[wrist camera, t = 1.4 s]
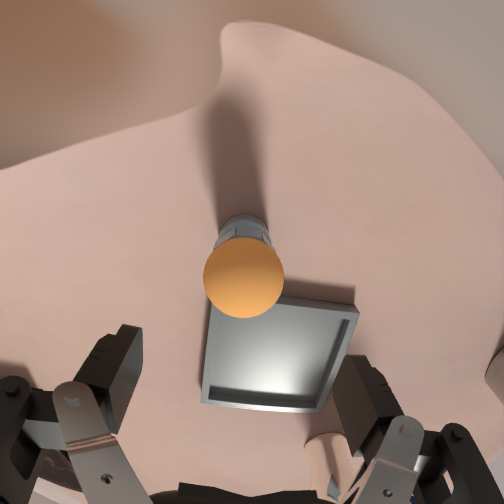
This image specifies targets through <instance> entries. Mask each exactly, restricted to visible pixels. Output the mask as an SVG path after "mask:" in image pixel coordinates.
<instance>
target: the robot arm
mask: <svg viewBox="0 0 504 504" xmlns="http://www.w3.org/2000/svg"><path fill="white" fill-rule="evenodd" d="M142 365H143V333H142V328H140V327H135V326H130V325H126V324H122V326H121V327H120V329H119V330H118V332H117V334H116V335H112V334H107V335H106V336H104V337H102V338H101V339H99V340H98V342H97V343H96V345H95V346H94V348H93V350H92V351H91V352H90V354H89V357H87V359H86V360H85V362H84V363H83V365H82V366H81V368H80V370H79V371H78V373H77V374H76V376H75V378H74V379H73V381H69V382H64V383H62V384H60V385H58V386H57V387H56V388H55V390H54V391H40V390H31V388H30V385H29V383H28V382H27V381H26V380H25V379H24V378H22V377H19V376H8V377H5V378H3V379H1V380H0V504H28V502H29V500H30V497H31V494H32V491H33V488H34V486H35V483H36V480H37V478H38V475H39V472H40V470H41V467H42V465H43V462H44V460H45V457H46V455H47V452H48V450H49V449H55V450H67V452H68V455H69V458H70V461H71V463H72V466H73V469H74V471H75V474H76V476H77V479H78V481H79V484H80V486H81V488H82V491H83V493H84V495H85V497H86V500H87V502H88V504H336V503H333V502H331V501H328V500H324V499H319V498H318V496H317V491H316V490H302V491H281V492H276V493H271V494H266V495H261V496H255V497H247V496H243V495H239V494H236V493H232V492H229V491H225V490H222V489H219V488H216V487H210V486H201V485H194V484H188V483H181V482H179V488H178V490H172V491H164V492H160V493H155V494H153V495H150V496H148V494H147V493H146V491H145V489H144V488H143V486H142V485H141V483H140V481H139V479H138V478H137V476H136V474H135V473H134V471H133V469H132V467H131V466H130V464H129V462H128V460H127V458H126V456H125V455H124V453H123V451H122V449H121V447H120V445H119V443H118V441H117V439H116V438H115V437H114V436H113V437H112V435H111V433H113V434H118V431H119V429H120V426H121V423H122V420H123V418H124V415H125V412H126V410H127V407H128V405H129V402H130V399H131V397H132V394H133V392H134V389H135V387H136V384H137V382H138V379H139V377H140V374H141V371H142ZM485 380H486V383H487V385H488V386H489V387H490V388H491V390H492V391H493V392H494V393H495V395H496V396H497V397H498V398H499V400H500V401H501V402H502V403H503V405H504V347H503V348H502V349H501V350H500V352H499V353H498V354H497V355H496V356H495V358H494V359H493V361H492V362H491V364H490V366H489V368H488V370H487V373H486V378H485ZM333 397H334V401H335V404H336V407H337V410H338V413H339V416H340V419H341V422H342V426H343V429H344V432H345V435H346V438H347V442H348V445H349V448H350V451H351V455H352V457H361V456H363V457H364V462H363V463H362V465H361V466H360V468H359V470H358V472H357V474H356V475H355V477H354V479H353V481H352V482H351V484H350V486H349V488H348V489H347V491H346V493H345V494H344V496H343V497H342V499H341V500H340V502H339V503H338V504H409V501H410V498H411V495H412V493H413V495H414V498H415V502H416V504H504V499H503V497H502V494H501V492H500V490H499V488H498V486H497V484H496V482H495V480H494V478H493V476H492V474H491V472H490V470H489V468H488V466H487V464H486V462H485V460H484V458H483V456H482V455H481V453H480V451H479V449H478V447H477V445H476V444H475V442H474V440H473V438H472V436H471V435H470V433H469V431H468V430H467V429H466V428H465V427H463V426H462V425H460V424H457V423H449V424H447V425H445V426H444V428H443V429H442V430H441V432H435V431H428V430H424V428H423V426H422V425H421V423H420V422H419V421H417V420H416V419H414V418H412V417H410V416H405V415H404V413H403V411H402V409H401V407H400V405H399V404H398V402H397V400H396V398H395V396H394V394H393V393H392V390H391V388H390V387H389V386H388V383H387V381H386V379H385V377H384V375H383V374H382V373H380V372H379V371H378V370H377V369H376V368H375V367H371V365H370V363H369V361H368V359H367V357H366V356H365V355H346V356H345V358H344V360H343V363H342V365H341V368H340V370H339V373H338V375H337V377H336V380H335V382H334V386H333ZM447 470H448V473H449V475H450V477H451V480H452V482H453V485H454V490H453V493H452V495H451V493H450V490H449V488H448V485H447V483H446V481H445V478H444V476H443V474H444V473H445V472H446V471H447Z"/></svg>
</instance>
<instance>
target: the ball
mask: <svg viewBox="0 0 504 504" xmlns="http://www.w3.org/2000/svg"><path fill="white" fill-rule="evenodd" d="M203 281H204V287H205V291H206V293H207V296H208V297H209V299H210V301H211V302H212V303H213V305H214V306H215V307H216V308H218V309H219V310H220V311H222V312H223V313H225V314H227V315H230V316H233V317H237V318H250V317H255V316H258V315H260V314H262V313H264V312H266V311H267V310H268V309H270V308H271V307H272V306H273V305H274V304H275V303H276V301H277V300H278V298H279V296H280V294H281V292H282V289H283V284H284V272H283V267H282V264H281V262H280V259H279V258H278V256H277V254H276V253H275V252H274V251H273V250H272V249H271V248H270V247H269V246H268V245H266V244H265V243H263V242H261V241H259V240H256V239H253V238H246V237H242V238H234V239H231V240H228V241H226V242H224V243H223V244H221V245H220V246H218V247H217V248H216V249H215V250H214V251H213V252H212V253H211V255H210V256H209V258H208V260H207V262H206V265H205V268H204V274H203Z"/></svg>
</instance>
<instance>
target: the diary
mask: <svg viewBox="0 0 504 504" xmlns="http://www.w3.org/2000/svg"><path fill="white" fill-rule="evenodd" d="M30 388H31V387H30ZM31 390H40V391H43V390H42V389H37V388H31ZM38 477H40V478H42V479H45V480H47V481H50V482H52V483H55V484H57V485H59V486H62V487H65V488H68V489H71V490H75V491H78V492H83V491H82V488H81V486H80V484H79V481H78V479H77V476H76V474H75V471H74V469H73V466H72V463H71V461H70V458H69V455H68V452H67V450H55V449H49V450H48V452H47V455H46V457H45V460H44V462H43V465H42V467H41V470H40V472H39V475H38Z"/></svg>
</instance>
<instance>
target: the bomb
mask: <svg viewBox="0 0 504 504" xmlns="http://www.w3.org/2000/svg"><path fill="white" fill-rule="evenodd" d="M409 504H416V502H415V498H414V496H412V495H411V498H410V501H409Z"/></svg>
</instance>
